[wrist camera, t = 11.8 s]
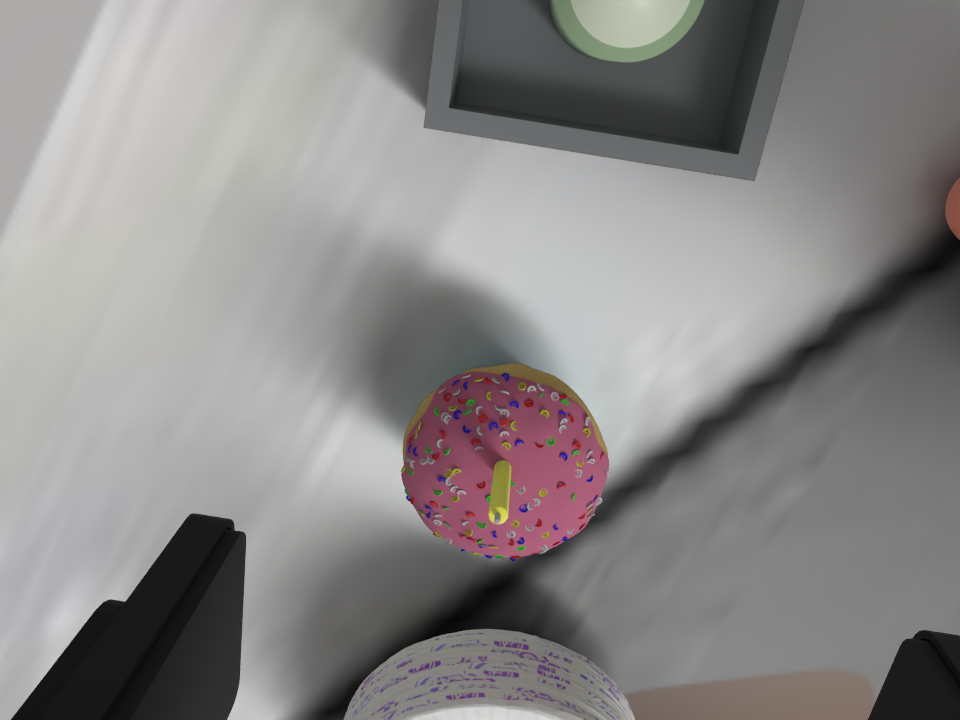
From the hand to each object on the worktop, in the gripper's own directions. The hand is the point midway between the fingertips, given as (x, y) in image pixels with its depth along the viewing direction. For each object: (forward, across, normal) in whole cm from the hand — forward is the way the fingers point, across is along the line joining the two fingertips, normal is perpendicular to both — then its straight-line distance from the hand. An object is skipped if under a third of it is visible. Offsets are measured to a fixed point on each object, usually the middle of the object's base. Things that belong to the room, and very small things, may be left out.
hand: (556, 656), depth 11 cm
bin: (+24, -1, -10) cm, 26 cm away
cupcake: (+24, 0, +8) cm, 26 cm away
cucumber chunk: (+24, -1, -10) cm, 26 cm away
